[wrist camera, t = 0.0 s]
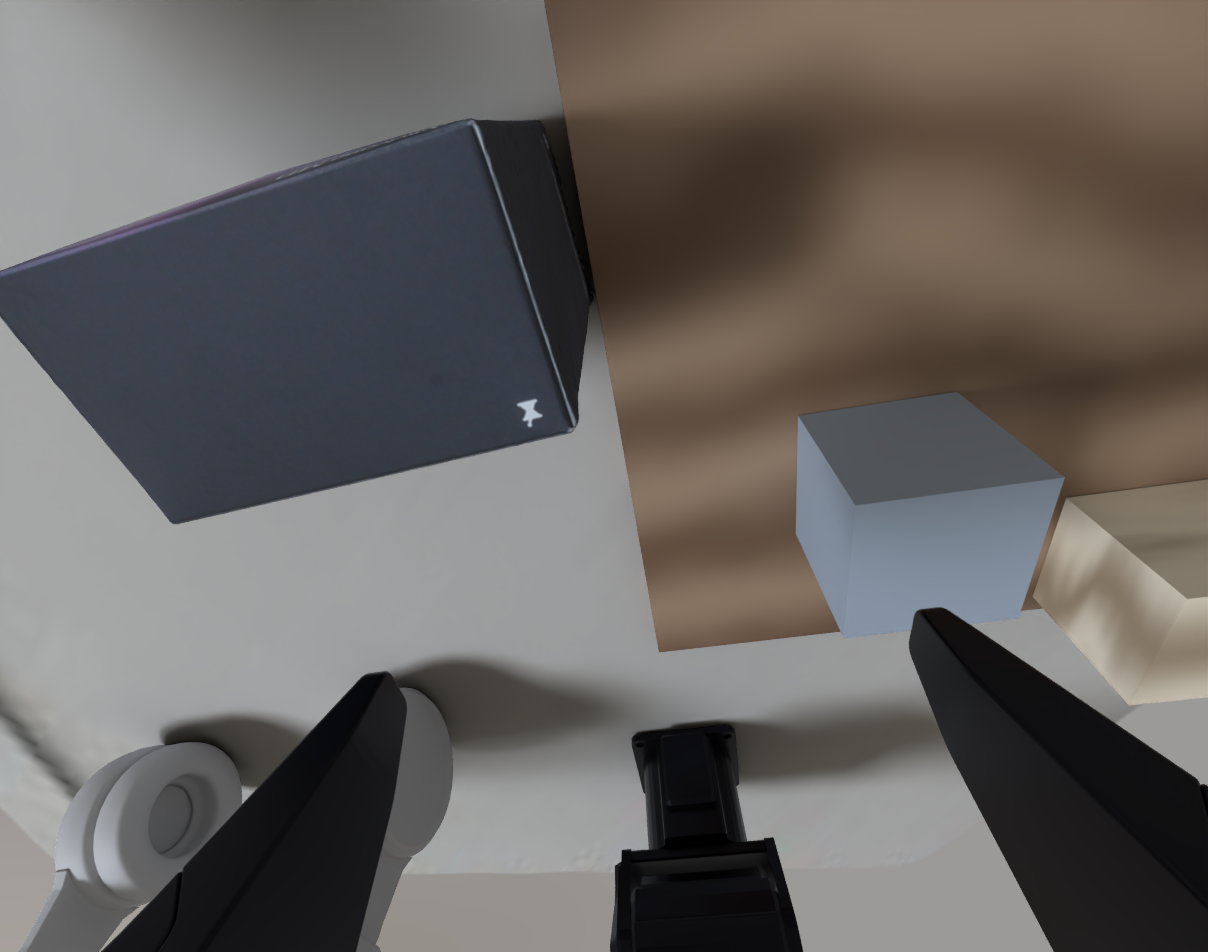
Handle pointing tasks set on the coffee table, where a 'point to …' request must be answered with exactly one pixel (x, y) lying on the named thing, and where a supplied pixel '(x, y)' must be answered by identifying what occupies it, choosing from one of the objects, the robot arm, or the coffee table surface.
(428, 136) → the small box
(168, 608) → the coffee table surface
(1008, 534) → the slate cube
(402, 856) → the headphones
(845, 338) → the walnut board
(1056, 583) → the birch cube
